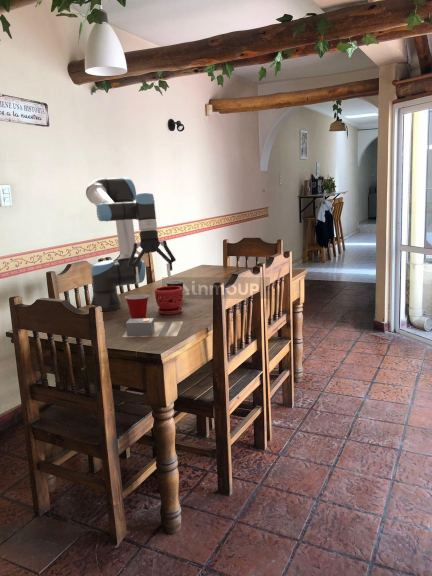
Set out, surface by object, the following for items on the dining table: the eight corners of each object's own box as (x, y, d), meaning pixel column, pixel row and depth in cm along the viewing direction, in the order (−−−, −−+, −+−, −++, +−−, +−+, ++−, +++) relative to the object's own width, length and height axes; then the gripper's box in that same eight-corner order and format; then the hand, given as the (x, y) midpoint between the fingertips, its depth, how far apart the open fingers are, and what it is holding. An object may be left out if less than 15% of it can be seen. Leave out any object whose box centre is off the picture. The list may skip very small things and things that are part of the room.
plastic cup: (152, 317, 221) (150, 292, 219) (149, 324, 211) (147, 297, 208) (128, 318, 221) (126, 293, 219) (125, 325, 211) (122, 298, 208)
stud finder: (127, 336, 190) (125, 322, 189) (130, 331, 196) (129, 317, 195) (151, 335, 190) (150, 321, 188) (154, 331, 196) (153, 317, 194)
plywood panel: (121, 340, 190) (121, 337, 189) (133, 325, 209) (132, 322, 209) (176, 339, 188) (176, 336, 188) (183, 324, 208) (183, 321, 208)
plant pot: (188, 310, 231) (187, 286, 228) (173, 317, 220) (171, 291, 217) (167, 307, 238) (165, 284, 235) (150, 314, 227) (148, 289, 224)
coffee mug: (181, 302, 246) (180, 283, 244) (165, 302, 248) (164, 283, 245) (187, 297, 257) (186, 279, 255) (172, 297, 259) (171, 279, 256)
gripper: (119, 232, 194) (125, 284, 196) (179, 227, 202) (184, 277, 203) (117, 233, 201) (123, 283, 203) (175, 228, 209) (180, 277, 211)
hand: (153, 280), depth 203 cm, fingers open, 13 cm apart
